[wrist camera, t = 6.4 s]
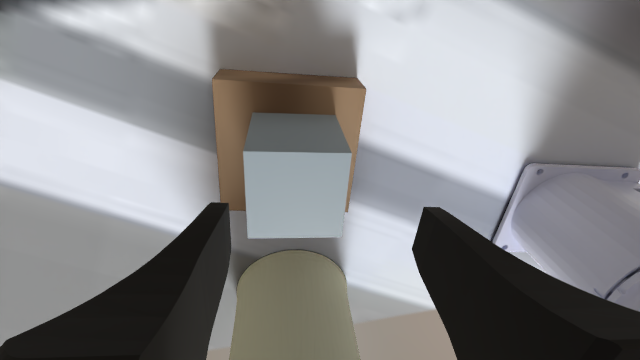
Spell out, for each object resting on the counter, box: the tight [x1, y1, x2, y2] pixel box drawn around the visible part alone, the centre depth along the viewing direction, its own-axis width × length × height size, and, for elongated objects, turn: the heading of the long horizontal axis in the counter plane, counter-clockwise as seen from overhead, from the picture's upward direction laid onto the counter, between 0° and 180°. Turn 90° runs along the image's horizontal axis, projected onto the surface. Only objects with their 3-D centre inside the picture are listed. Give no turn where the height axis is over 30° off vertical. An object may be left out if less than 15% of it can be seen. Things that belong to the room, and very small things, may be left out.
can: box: [229, 250, 360, 360], centre depth 23 cm, size 9×9×12 cm
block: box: [243, 113, 352, 239], centre depth 17 cm, size 4×4×5 cm
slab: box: [212, 69, 366, 212], centre depth 21 cm, size 8×8×3 cm
